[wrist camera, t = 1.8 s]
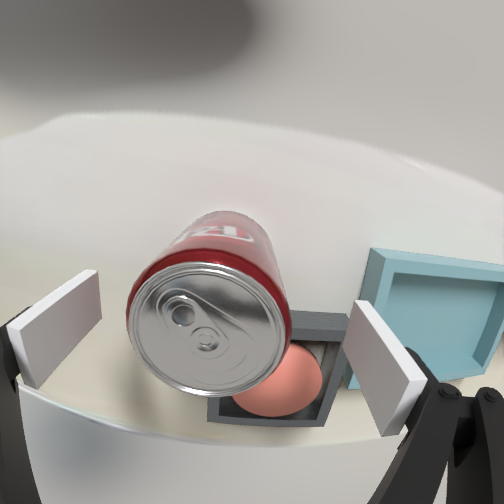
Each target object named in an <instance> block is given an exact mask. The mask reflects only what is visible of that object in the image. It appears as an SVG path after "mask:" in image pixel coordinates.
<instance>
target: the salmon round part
mask: <svg viewBox="0 0 504 504" xmlns="http://www.w3.org/2000/svg"><path fill="white" fill-rule="evenodd" d="M321 385H322V373H321V370H320V367H319V364H318V361H317V359H316V357H315V356H314V355H313V353H312V352H310V351H309V350H308V349H307V348H305V347H304V346H302V345H300V344H297V343H294V342H290V345H289V348H288V350H287V353H286V355H285V357H284V359H283V361H282V362H281V364H280V365H279V366H278V368H277V369H276V370H275V371H274V373H272V374H271V375H270V376H269V377H268V378H267V379H265V380H264V381H263V382H261V383H260V384H258V385H256V386H254V387H252V388H251V389H249V390H247V391H244V392H241V393H238V394H235V395H232V397H233V399H234V400H235V401H236V403H237V404H238V405H239V406H241V407H242V408H243V409H245V410H247V411H248V412H251V413H253V414H257V415H261V416H268V417H277V416H284V415H289V414H292V413H295V412H297V411H299V410H301V409H303V408H304V407H306V406H307V405H309V404H310V403H311V402H312V401H313V400H314V399H315V398H316V396H317V395H318V393H319V391H320V389H321Z"/></svg>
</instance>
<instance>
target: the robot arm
mask: <svg viewBox="0 0 504 504" xmlns="http://www.w3.org/2000/svg"><path fill="white" fill-rule="evenodd" d="M101 319H102V314H101V304H100V292H99V278H98V271H94V270H88V269H86V270H84V271H83V272H81V273H80V274H78V275H77V276H75V277H74V278H72V279H71V280H69V281H68V282H66V283H65V284H63V285H62V286H60V287H59V288H57V289H56V290H54V291H53V292H52V293H50V294H49V295H47V296H46V297H44V298H43V299H42V300H40V301H39V302H37V303H36V304H35V305H32V306H30V307H27V308H26V309H25V310H23V311H22V312H21V313H19V314H18V315H16V317H14V318H12V319H11V320H10V321H8V322H7V323H6V324H4V325H3V326H2V327H0V504H42V503H41V500H40V497H39V494H38V490H37V487H36V484H35V480H34V476H33V473H32V469H31V464H30V460H29V456H28V451H27V446H26V441H25V435H24V429H23V423H22V417H21V409H20V399H19V389H18V383H17V380H16V376H17V375H18V374H19V373H21V376H22V379H23V382H24V384H25V385H28V386H30V387H32V388H35V389H37V390H38V389H39V388H40V387H41V385H42V384H43V383H44V382H45V381H46V379H47V378H48V377H49V376H50V375H51V374H52V373H53V371H54V370H55V369H56V368H57V367H58V366H59V365H60V363H61V362H62V361H63V360H64V359H65V358H66V357H67V356H68V354H69V353H70V352H71V351H72V350H73V349H74V348H75V347H76V346H77V344H78V343H79V342H80V341H81V340H82V339H83V338H84V337H85V336H86V335H87V334H88V332H89V331H90V330H91V329H92V328H93V327H94V326H95V325H96V324H97V323H98V322H99V321H100V320H101ZM342 347H343V349H344V352H345V354H346V356H347V358H348V361H349V363H350V365H351V367H352V369H353V372H354V374H355V376H356V379H357V381H358V383H359V385H360V388H361V390H362V392H363V395H364V397H365V399H366V402H367V404H368V406H369V409H370V411H371V413H372V416H373V418H374V420H375V423H376V425H377V428H378V430H379V432H380V435H381V437H385V436H392V435H399V433H400V431H401V430H402V428H403V426H404V424H405V425H406V427H407V429H408V432H407V434H406V436H405V437H404V439H403V440H402V442H401V444H400V445H399V447H398V448H397V449H398V452H397V454H396V455H395V457H394V459H393V461H392V463H391V465H390V467H389V469H388V470H387V472H386V474H385V476H384V477H383V479H382V481H381V483H380V484H379V486H378V487H377V489H376V491H375V493H374V494H373V496H372V497H371V499H370V500H369V502H368V503H367V504H433V502H434V499H435V497H436V494H437V491H438V488H439V486H440V483H441V480H442V477H443V474H444V471H445V468H446V464H447V461H448V477H447V497H446V504H504V398H503V397H502V395H501V394H500V393H499V392H498V391H497V390H495V389H494V388H490V387H482V388H480V389H479V390H478V392H477V394H476V395H475V397H465V396H462V394H461V392H460V391H459V390H458V389H457V388H456V387H455V386H453V385H451V384H447V383H439V381H438V380H437V379H436V377H435V376H434V375H433V373H432V372H431V371H430V369H429V368H428V367H426V364H425V363H424V361H422V359H421V358H420V356H419V355H418V354H417V353H416V352H415V351H413V350H412V349H410V348H409V347H404V346H403V345H402V344H401V342H400V341H399V340H398V339H397V337H396V336H395V335H394V333H393V332H392V331H391V329H390V328H389V327H388V326H387V324H386V323H385V322H384V320H383V319H382V318H381V317H380V315H379V314H378V313H377V312H376V310H375V309H374V308H373V307H372V305H371V304H370V303H369V302H368V301H363V300H354V303H353V307H352V311H351V315H350V319H349V323H348V327H347V331H346V334H345V338H344V342H343V345H342Z"/></svg>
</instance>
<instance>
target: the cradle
mask: <svg viewBox="0 0 504 504" xmlns="http://www.w3.org/2000/svg"><path fill="white" fill-rule="evenodd" d="M290 313H291V318H292V336H291V339H293V340H312V341H328V343H327V347H326V351H325V354H324V358H323V362H322V365H321V369H320V370H321V373H322V385H321V389H320V391H319V393H318V395H317V396H316V398H315V399H314V400H313V401H312V402H311V403H310V404H309V405H307V406H306V407H304V408H303V409H301V410H299V411H297V412H295V413H292V414H289V415H284V416H277V417H268V416H261V415H257V414H253V413H251V412H248V411H247V410H245V409H243V408H242V407H241V406H239V405H238V404H237V403H236V401H235V400H234V399H233V397H232V396H224V397H208V414H207V421H208V422H217V423H227V424H238V425H252V426H273V427H324V425H325V422H326V420H327V417H328V415H329V412H330V409H331V407H332V404H333V401H334V398H335V396H336V393H337V390H338V387H339V384H340V381H341V378H342V375H343V372H344V369H345V366H346V363H347V360H348V358H347V356H346V354H345V352H344V349H343V347H342V345H343V342H344V338H345V334H346V331H347V327H348V323H349V318H348V317H347V315H346V314H340V313H323V312H307V311H294V310H290Z"/></svg>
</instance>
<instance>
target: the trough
mask: <svg viewBox="0 0 504 504" xmlns="http://www.w3.org/2000/svg"><path fill="white" fill-rule="evenodd" d="M359 300H363V301H368V302H369V303H370V304H371V305H372V307H373V308H374V309H375V310H376V312H377V313H378V314H379V315H380V317H381V318H382V319H383V320H384V322H385V323H386V324H387V326H388V327H389V328H390V329H391V331H392V332H393V333H394V335H395V336H396V337H397V339H398V340H399V341H400V342H401V344H402V345H403V346H404V347H409V348H410V349H412V350H413V351H415V352H416V353H417V354H418V355H419V356H420V358H421V359H422V361H424V363H425V364H426V367H428V368H429V369H430V371H431V372H432V373H433V375H434V376H435V377H436V379H437V380H438V381H439V382H441V381H447V380H454V379H460V378H466V377H471V376H477V375H482V374H485V372H486V369H487V367H488V365H489V363H490V361H491V359H492V357H493V355H494V353H495V350H496V348H497V346H498V343H499V341H500V339H501V336H502V334H503V331H504V265H498V264H491V263H484V262H477V261H470V260H463V259H456V258H449V257H441V256H434V255H426V254H418V253H411V252H403V251H395V250H387V249H379V248H371V249H370V254H369V259H368V264H367V269H366V273H365V278H364V282H363V286H362V291H361V295H360V299H359ZM342 377H343V379H344V381H345V384H346V386H347V389H361V388H360V385H359V383H358V381H357V379H356V376H355V374H354V372H353V369H352V367H351V365H350V363H349V361H348V360H347V363H346V366H345V369H344V372H343V375H342Z"/></svg>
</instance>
